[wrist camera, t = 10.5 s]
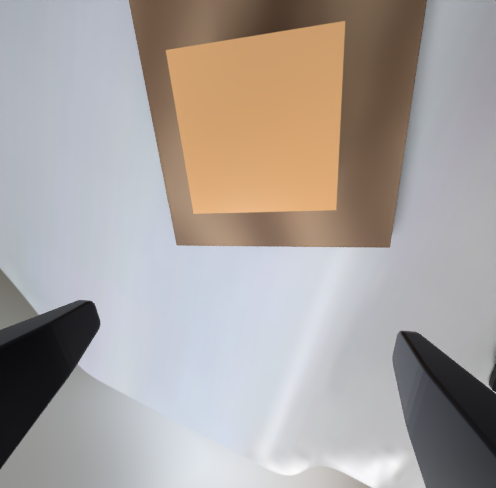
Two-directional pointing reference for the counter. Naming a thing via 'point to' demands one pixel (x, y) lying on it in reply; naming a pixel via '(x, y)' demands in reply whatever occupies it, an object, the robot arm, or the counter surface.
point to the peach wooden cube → (261, 120)
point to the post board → (351, 126)
